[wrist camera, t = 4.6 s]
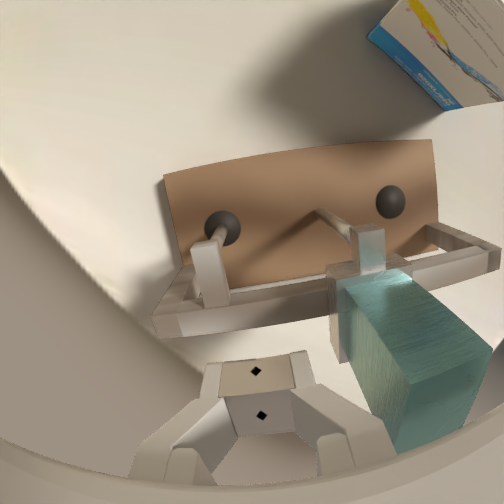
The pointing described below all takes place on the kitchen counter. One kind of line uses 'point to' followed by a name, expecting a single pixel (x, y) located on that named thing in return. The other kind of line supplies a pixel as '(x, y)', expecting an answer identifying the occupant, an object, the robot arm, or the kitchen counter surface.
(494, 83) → the ink box
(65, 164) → the kitchen counter surface
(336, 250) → the board
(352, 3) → the kitchen counter surface
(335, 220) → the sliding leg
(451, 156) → the kitchen counter surface
